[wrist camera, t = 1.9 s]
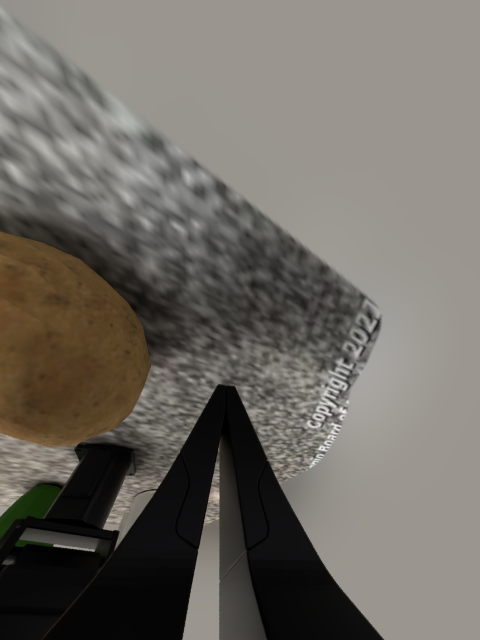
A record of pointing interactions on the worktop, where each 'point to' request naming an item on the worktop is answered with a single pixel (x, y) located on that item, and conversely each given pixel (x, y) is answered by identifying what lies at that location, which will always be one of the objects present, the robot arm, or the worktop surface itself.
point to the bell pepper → (30, 509)
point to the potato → (64, 347)
